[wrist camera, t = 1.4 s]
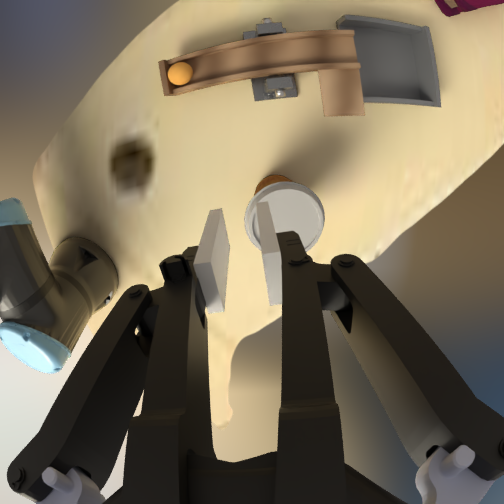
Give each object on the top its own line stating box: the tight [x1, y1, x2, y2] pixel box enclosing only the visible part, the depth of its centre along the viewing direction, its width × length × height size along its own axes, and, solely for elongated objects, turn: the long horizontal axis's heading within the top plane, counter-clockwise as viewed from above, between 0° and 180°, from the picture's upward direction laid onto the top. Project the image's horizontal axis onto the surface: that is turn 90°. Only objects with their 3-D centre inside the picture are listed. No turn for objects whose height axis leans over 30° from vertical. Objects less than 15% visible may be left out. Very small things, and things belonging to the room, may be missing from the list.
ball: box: [168, 62, 193, 85], centre depth 29 cm, size 3×3×3 cm
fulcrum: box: [243, 18, 297, 101], centre depth 29 cm, size 6×11×7 cm, turn 9°
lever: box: [158, 30, 365, 116], centre depth 28 cm, size 24×11×3 cm, turn 99°
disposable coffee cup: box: [244, 175, 325, 252], centre depth 37 cm, size 10×10×12 cm
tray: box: [336, 15, 441, 107], centre depth 29 cm, size 14×14×5 cm
